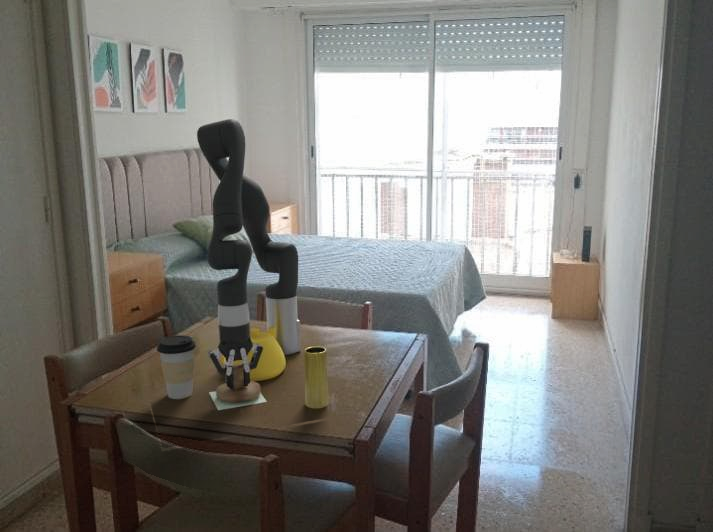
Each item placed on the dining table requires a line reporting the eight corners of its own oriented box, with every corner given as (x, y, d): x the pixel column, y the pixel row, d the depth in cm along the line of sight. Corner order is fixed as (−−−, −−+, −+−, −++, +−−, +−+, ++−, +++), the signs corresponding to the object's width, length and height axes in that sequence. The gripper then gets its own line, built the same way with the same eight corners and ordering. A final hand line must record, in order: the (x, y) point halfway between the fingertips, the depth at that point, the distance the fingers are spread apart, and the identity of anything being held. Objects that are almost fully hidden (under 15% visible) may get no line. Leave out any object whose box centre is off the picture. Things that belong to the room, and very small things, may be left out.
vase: (304, 401, 170) (302, 346, 167) (329, 399, 170) (327, 345, 167) (304, 411, 164) (302, 354, 161) (330, 409, 164) (328, 353, 161)
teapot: (268, 387, 179) (266, 341, 176) (206, 379, 185) (203, 334, 182) (300, 362, 197) (299, 320, 194) (243, 356, 203) (241, 314, 201)
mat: (255, 387, 179) (255, 384, 179) (267, 403, 168) (266, 401, 168) (209, 394, 175) (209, 392, 175) (218, 412, 164) (218, 410, 164)
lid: (254, 381, 178) (253, 356, 177) (265, 397, 168) (264, 370, 167) (212, 388, 174) (210, 363, 173) (221, 405, 164) (219, 377, 163)
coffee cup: (189, 404, 169) (185, 347, 166) (154, 402, 171) (149, 345, 167) (205, 390, 178) (201, 335, 175) (171, 388, 180) (167, 333, 176)
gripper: (258, 313, 173) (261, 377, 177) (202, 320, 168) (207, 386, 172) (265, 320, 167) (269, 387, 170) (207, 328, 161) (212, 397, 165)
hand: (238, 386), depth 171 cm, fingers closed on lid, 3 cm apart
